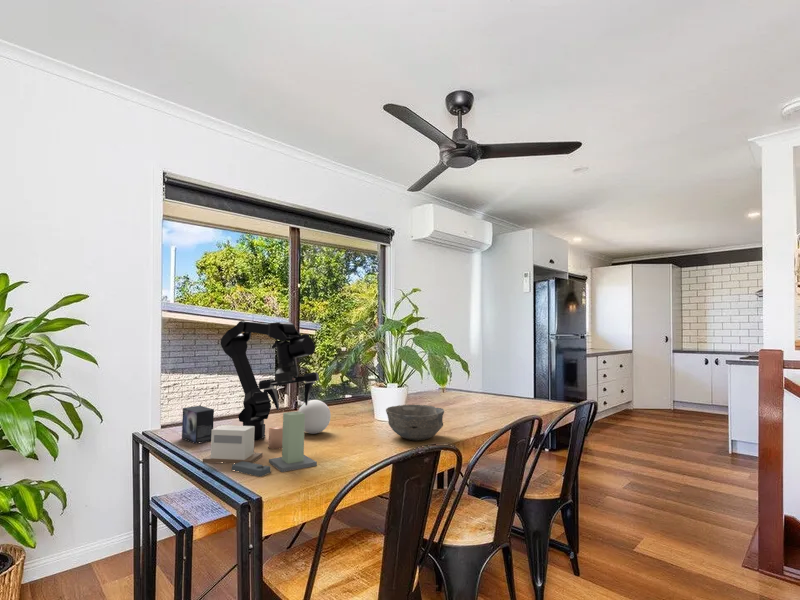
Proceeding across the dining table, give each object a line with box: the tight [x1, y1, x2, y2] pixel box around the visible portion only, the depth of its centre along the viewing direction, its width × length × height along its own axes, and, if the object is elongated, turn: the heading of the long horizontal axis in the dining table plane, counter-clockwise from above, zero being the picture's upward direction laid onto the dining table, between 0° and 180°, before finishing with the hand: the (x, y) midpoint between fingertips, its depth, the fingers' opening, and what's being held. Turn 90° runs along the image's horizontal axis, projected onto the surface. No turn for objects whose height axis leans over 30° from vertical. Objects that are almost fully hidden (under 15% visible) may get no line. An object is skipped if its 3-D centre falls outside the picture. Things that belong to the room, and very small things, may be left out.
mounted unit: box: [202, 424, 263, 464], centre depth 127 cm, size 14×8×9 cm, turn 84°
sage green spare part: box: [281, 410, 305, 464], centre depth 123 cm, size 4×4×13 cm
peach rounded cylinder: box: [268, 425, 283, 450], centre depth 141 cm, size 5×5×6 cm
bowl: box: [385, 404, 445, 442], centre depth 156 cm, size 21×21×10 cm
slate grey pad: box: [268, 454, 318, 473], centre depth 123 cm, size 10×10×1 cm
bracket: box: [231, 461, 272, 477], centre depth 116 cm, size 4×10×2 cm, turn 63°
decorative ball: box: [298, 399, 332, 435], centre depth 161 cm, size 12×12×12 cm
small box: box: [181, 405, 215, 444], centre depth 150 cm, size 11×6×10 cm, turn 50°
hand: (292, 407), depth 143 cm, fingers open, 9 cm apart
